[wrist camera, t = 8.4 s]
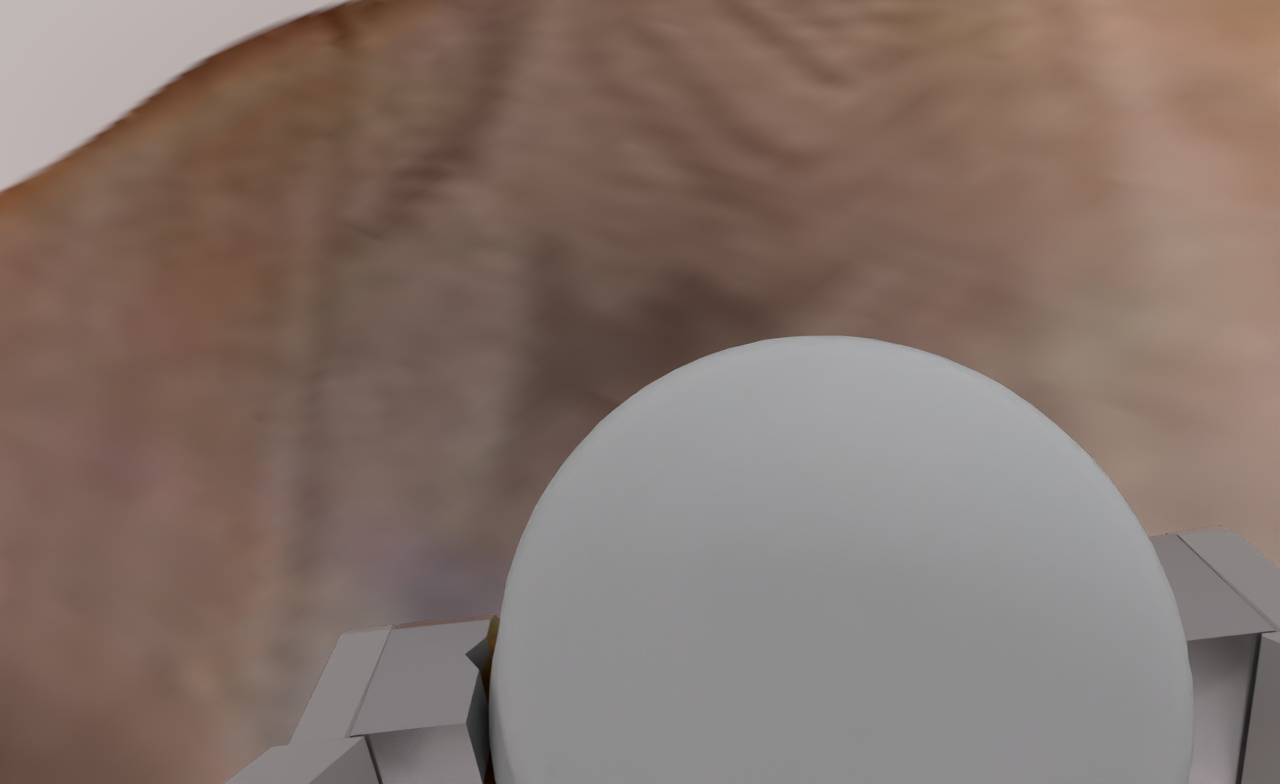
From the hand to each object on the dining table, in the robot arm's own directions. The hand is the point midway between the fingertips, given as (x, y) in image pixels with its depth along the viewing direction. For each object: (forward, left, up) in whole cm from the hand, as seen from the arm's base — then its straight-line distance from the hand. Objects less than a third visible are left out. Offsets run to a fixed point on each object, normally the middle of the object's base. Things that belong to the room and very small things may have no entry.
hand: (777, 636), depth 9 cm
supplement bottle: (-1, 0, -6) cm, 6 cm away
